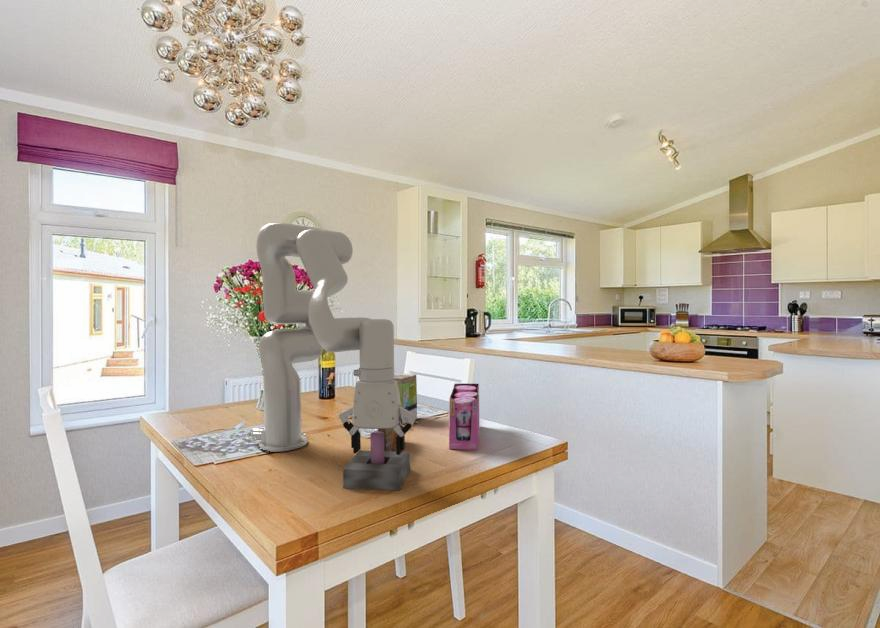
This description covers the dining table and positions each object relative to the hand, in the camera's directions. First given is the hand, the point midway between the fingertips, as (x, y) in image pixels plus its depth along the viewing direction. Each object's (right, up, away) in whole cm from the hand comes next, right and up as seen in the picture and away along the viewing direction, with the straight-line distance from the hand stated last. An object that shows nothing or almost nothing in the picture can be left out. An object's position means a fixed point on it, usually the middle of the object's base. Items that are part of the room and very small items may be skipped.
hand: (378, 452), depth 101 cm
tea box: (-3, -5, +51) cm, 51 cm away
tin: (+1, -6, +20) cm, 21 cm away
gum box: (+21, -5, +30) cm, 37 cm away
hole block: (0, -6, 0) cm, 6 cm away
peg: (0, -6, 0) cm, 6 cm away
